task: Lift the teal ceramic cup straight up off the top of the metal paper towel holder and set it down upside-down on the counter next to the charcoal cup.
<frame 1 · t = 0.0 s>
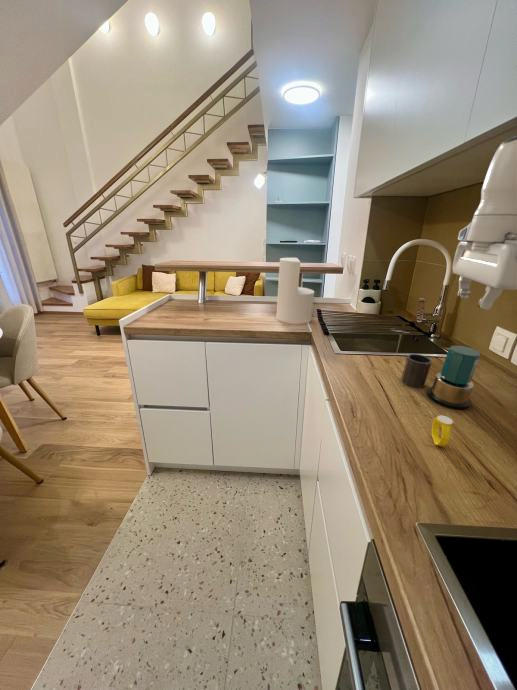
hand: (472, 302, 59), 28 cm above the countertop, tool pointing down, fingers open, 8 cm apart
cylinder: (293, 318, 139), on the countertop
charcoal cup: (412, 382, 83), on the countertop
teal cup: (455, 378, 73), point 6 cm above the countertop, touching towel holder
towel holder: (447, 398, 76), on the countertop
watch: (436, 441, 60), on the countertop
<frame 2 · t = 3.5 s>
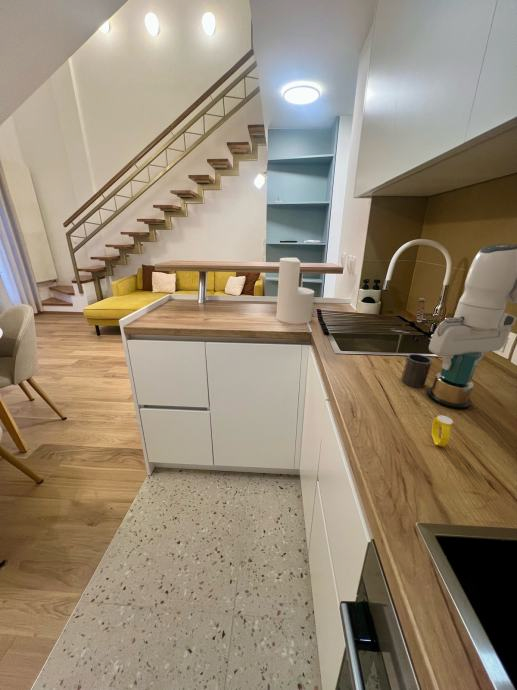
hand: (458, 367, 72), 10 cm above the countertop, tool pointing down, fingers closed on teal cup, 6 cm apart
teal cup: (454, 378, 73), point 6 cm above the countertop, touching gripper, towel holder
everything else where it was.
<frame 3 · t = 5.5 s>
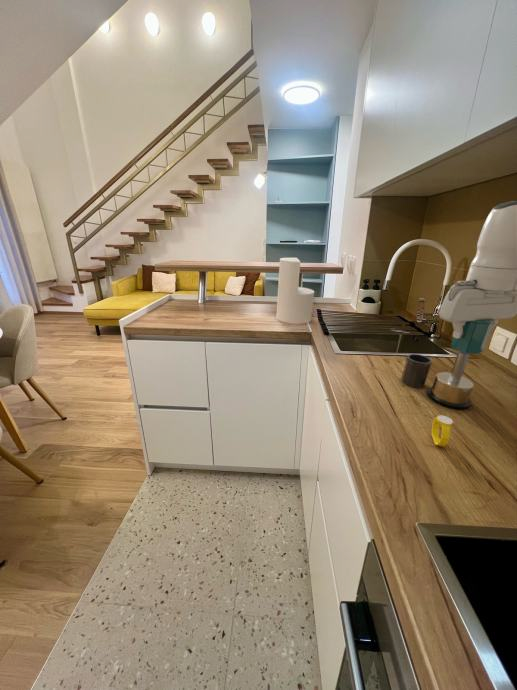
hand: (470, 336, 69), 18 cm above the countertop, tool pointing down, fingers closed on teal cup, 6 cm apart
teal cup: (466, 348, 70), point 15 cm above the countertop, touching gripper
everything else where it was.
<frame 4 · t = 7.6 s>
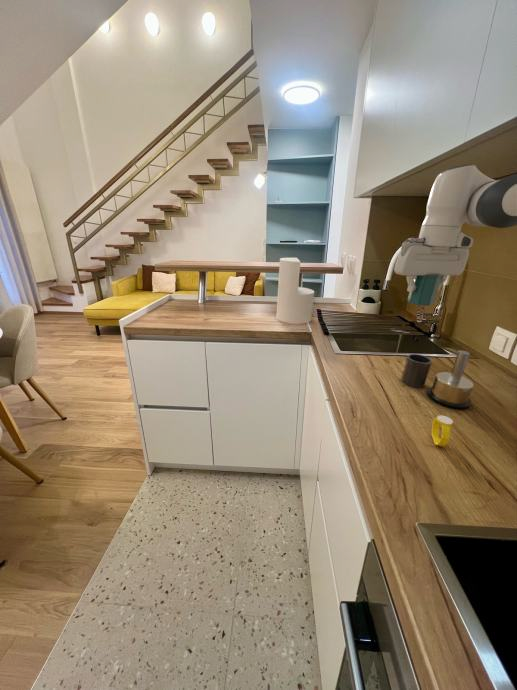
hand: (423, 291, 78), 26 cm above the countertop, tool pointing down, fingers closed on teal cup, 6 cm apart
teal cup: (420, 302, 79), point 23 cm above the countertop, touching gripper
everything else where it was.
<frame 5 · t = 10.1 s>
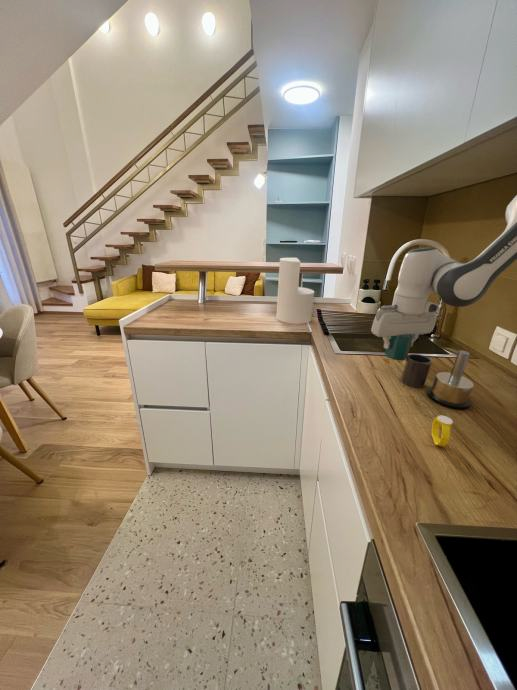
hand: (397, 347, 88), 8 cm above the countertop, tool pointing down, fingers closed on teal cup, 6 cm apart
teal cup: (395, 356, 90), point 5 cm above the countertop, touching gripper
everything else where it was.
when the fingers open (3 cm above the countertop, at t = 12.0 s): teal cup stays where it is, on the countertop.
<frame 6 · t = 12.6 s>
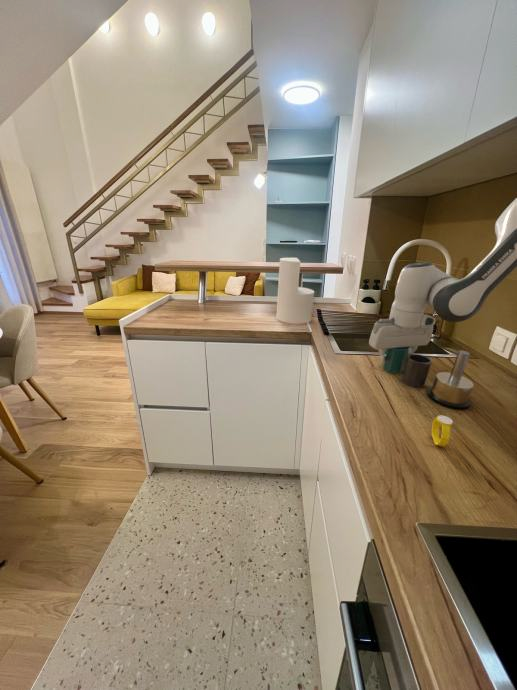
hand: (395, 358, 90), 4 cm above the countertop, tool pointing down, fingers open, 8 cm apart
teal cup: (392, 368, 91), on the countertop
everything else where it was.
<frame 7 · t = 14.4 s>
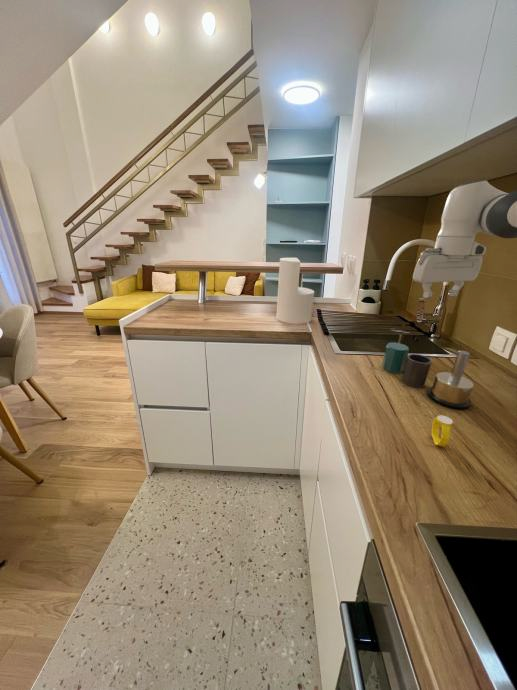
hand: (439, 296, 83), 24 cm above the countertop, tool pointing down, fingers open, 8 cm apart
nothing on the countertop moved.
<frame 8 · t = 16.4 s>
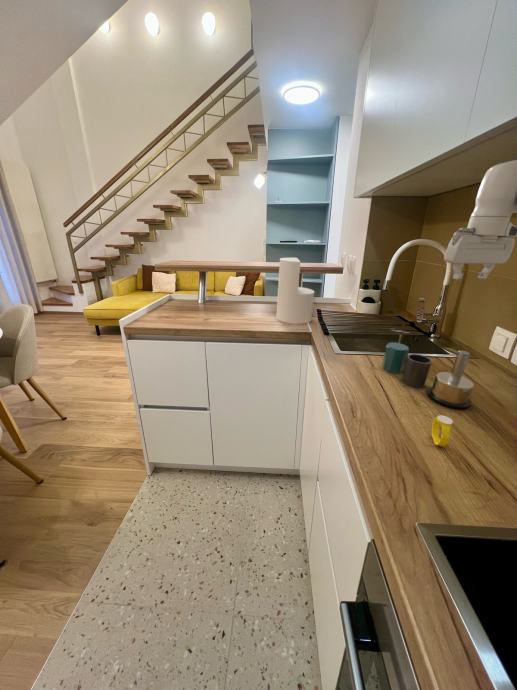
hand: (469, 278, 83), 29 cm above the countertop, tool pointing down, fingers open, 8 cm apart
nothing on the countertop moved.
at the end: teal cup on the countertop; teal cup 9.0 cm from the charcoal cup (horizontally); teal cup tilted 0° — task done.
